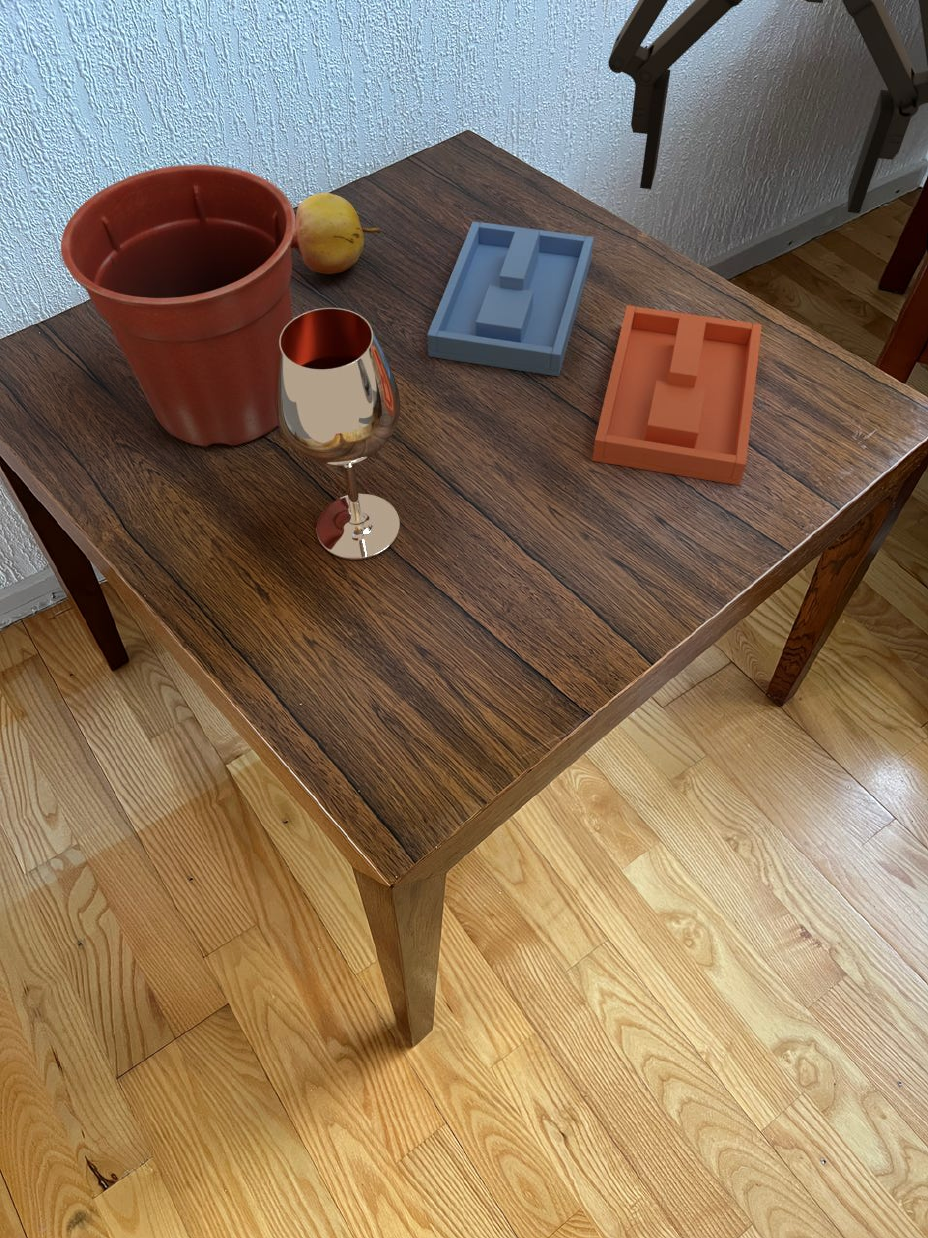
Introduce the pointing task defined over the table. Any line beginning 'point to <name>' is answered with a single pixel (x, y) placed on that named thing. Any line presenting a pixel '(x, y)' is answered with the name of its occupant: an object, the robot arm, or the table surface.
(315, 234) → the fruit
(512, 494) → the table surface
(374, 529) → the wineglass
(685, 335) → the red offset step block
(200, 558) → the table surface
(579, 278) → the blue tray
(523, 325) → the blue stepped block
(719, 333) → the red tray
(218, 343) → the flower pot
